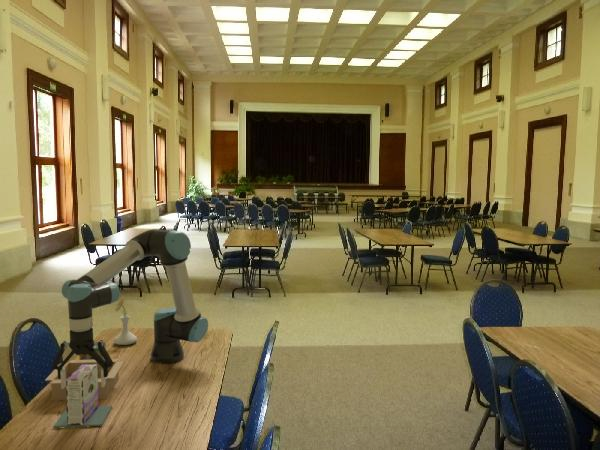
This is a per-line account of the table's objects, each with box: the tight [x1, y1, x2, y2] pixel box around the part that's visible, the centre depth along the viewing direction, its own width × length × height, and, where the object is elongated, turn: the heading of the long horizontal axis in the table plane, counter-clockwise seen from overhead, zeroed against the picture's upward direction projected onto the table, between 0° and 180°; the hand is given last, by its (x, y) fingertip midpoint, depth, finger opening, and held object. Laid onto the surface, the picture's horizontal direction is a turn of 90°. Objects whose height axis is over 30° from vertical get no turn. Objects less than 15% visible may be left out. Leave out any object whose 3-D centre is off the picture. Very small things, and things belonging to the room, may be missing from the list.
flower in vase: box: [113, 296, 138, 346], centre depth 256 cm, size 13×11×25 cm
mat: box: [52, 405, 113, 429], centre depth 181 cm, size 16×14×1 cm
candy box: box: [66, 364, 100, 425], centre depth 180 cm, size 14×6×16 cm, turn 0°
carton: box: [44, 358, 125, 402], centre depth 204 cm, size 25×23×8 cm
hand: (83, 386), depth 180 cm, fingers open, 13 cm apart
